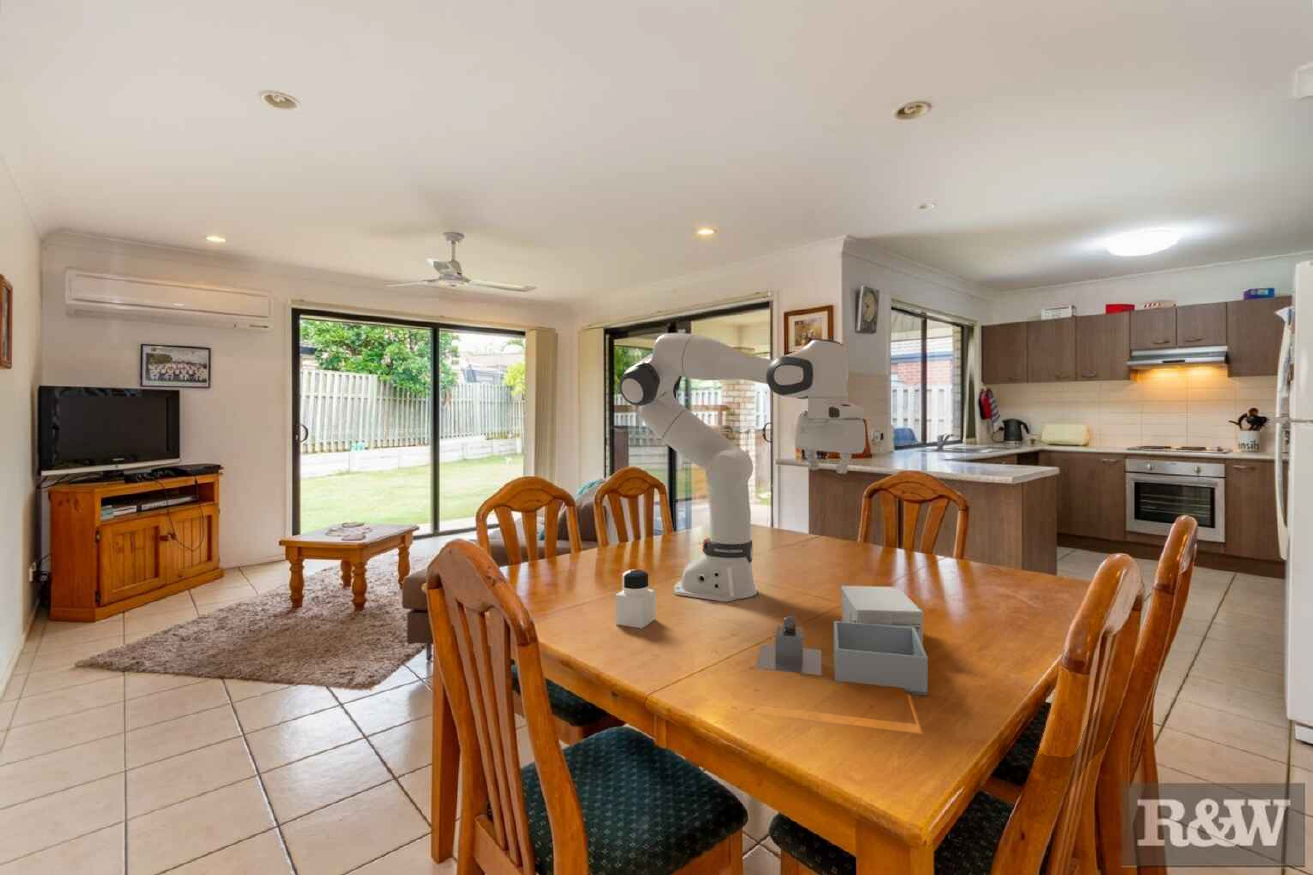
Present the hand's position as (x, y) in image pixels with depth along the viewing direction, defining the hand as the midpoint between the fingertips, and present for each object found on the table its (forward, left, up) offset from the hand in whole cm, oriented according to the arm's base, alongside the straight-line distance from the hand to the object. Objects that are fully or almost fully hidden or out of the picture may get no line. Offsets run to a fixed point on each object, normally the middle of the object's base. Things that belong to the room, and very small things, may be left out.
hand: (827, 471), depth 138 cm
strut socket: (-7, -25, -34) cm, 43 cm away
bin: (+9, -25, -35) cm, 44 cm away
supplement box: (+11, -7, -36) cm, 38 cm away
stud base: (-7, -25, -35) cm, 44 cm away
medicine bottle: (-43, -10, -36) cm, 57 cm away
